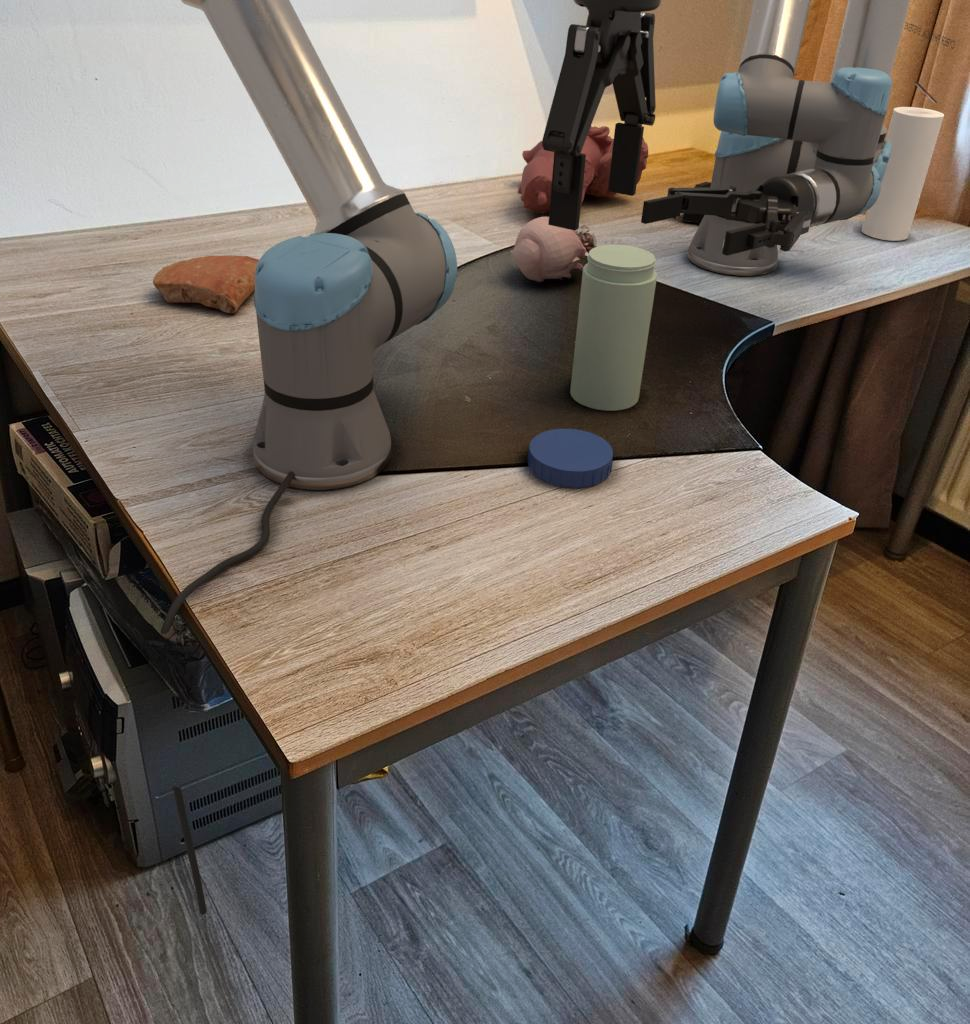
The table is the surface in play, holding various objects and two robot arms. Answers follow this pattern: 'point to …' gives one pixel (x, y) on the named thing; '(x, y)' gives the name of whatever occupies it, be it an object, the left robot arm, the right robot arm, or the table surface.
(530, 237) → the toy
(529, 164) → the reddish brown figurine
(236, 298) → the ceramic shard
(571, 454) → the lid
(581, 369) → the jar
